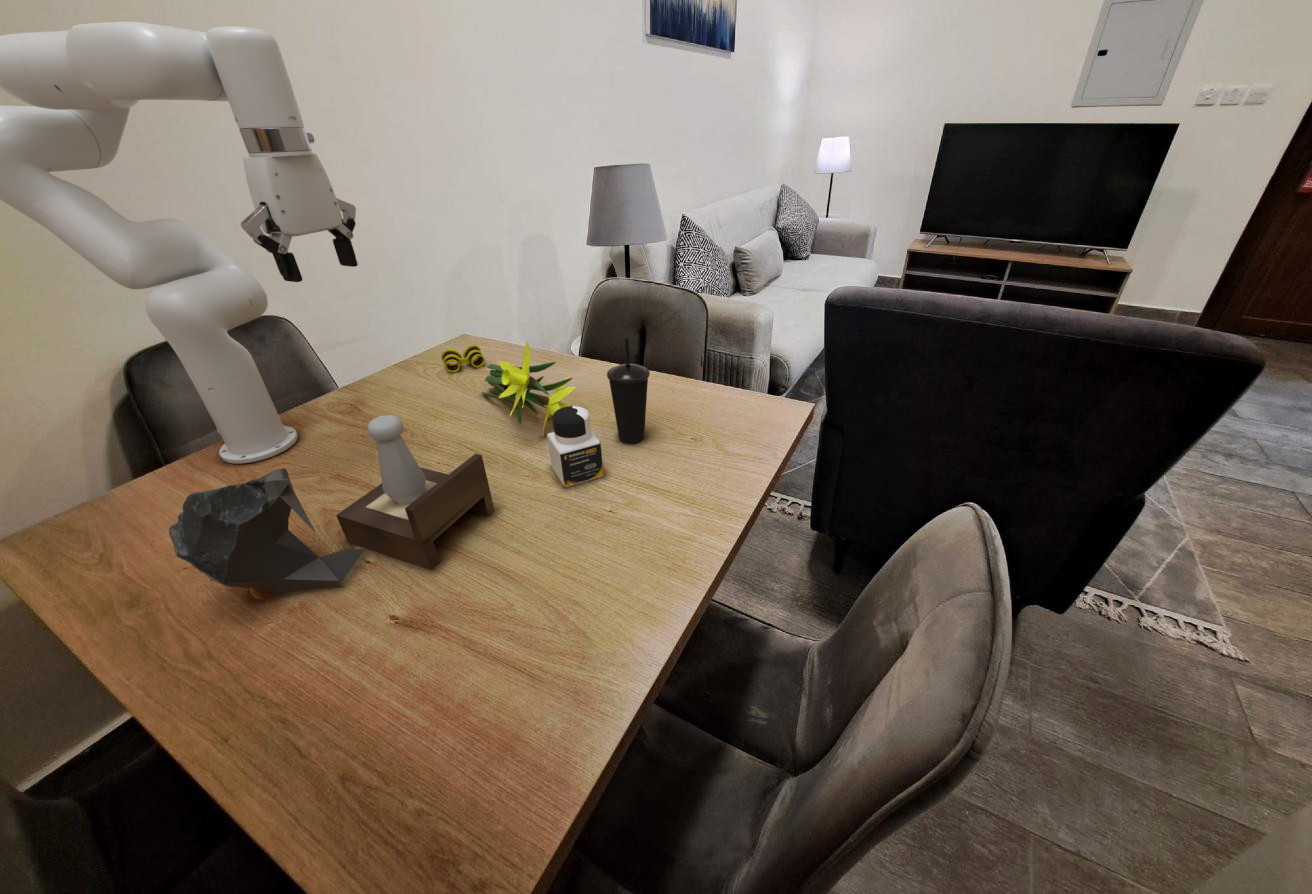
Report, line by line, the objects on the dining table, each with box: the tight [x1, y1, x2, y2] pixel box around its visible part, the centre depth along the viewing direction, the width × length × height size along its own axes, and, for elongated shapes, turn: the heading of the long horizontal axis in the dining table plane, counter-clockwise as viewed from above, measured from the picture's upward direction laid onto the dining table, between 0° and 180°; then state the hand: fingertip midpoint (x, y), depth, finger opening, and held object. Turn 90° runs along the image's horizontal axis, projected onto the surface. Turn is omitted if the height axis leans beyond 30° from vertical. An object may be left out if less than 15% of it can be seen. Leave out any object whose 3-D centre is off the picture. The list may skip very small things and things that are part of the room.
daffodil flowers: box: [481, 340, 577, 438], centre depth 106 cm, size 17×15×35 cm
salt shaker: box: [367, 414, 426, 505], centre depth 75 cm, size 6×6×13 cm
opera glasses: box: [440, 344, 486, 373], centre depth 132 cm, size 10×5×5 cm, turn 118°
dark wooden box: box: [335, 453, 496, 571], centre depth 78 cm, size 16×14×10 cm
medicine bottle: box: [546, 405, 604, 488], centre depth 89 cm, size 7×7×12 cm
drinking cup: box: [606, 337, 651, 445], centre depth 96 cm, size 8×8×20 cm
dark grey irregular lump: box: [168, 467, 367, 600], centre depth 67 cm, size 14×15×18 cm
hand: (322, 273), depth 80 cm, fingers open, 9 cm apart
